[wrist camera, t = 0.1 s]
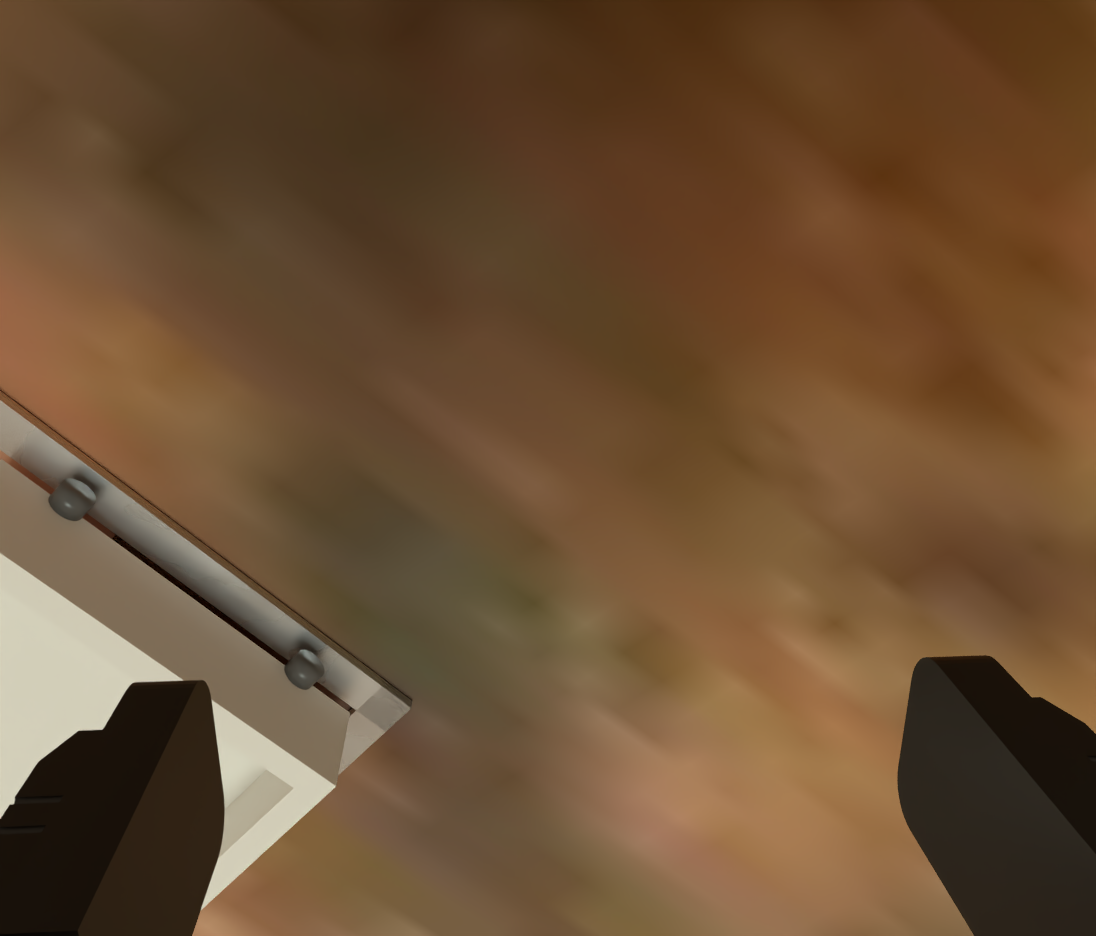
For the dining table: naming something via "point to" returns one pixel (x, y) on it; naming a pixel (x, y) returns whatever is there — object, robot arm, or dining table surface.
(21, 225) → the dining table surface
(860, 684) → the dining table surface
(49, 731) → the shallow white tray
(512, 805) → the dining table surface
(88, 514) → the track
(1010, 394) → the dining table surface
